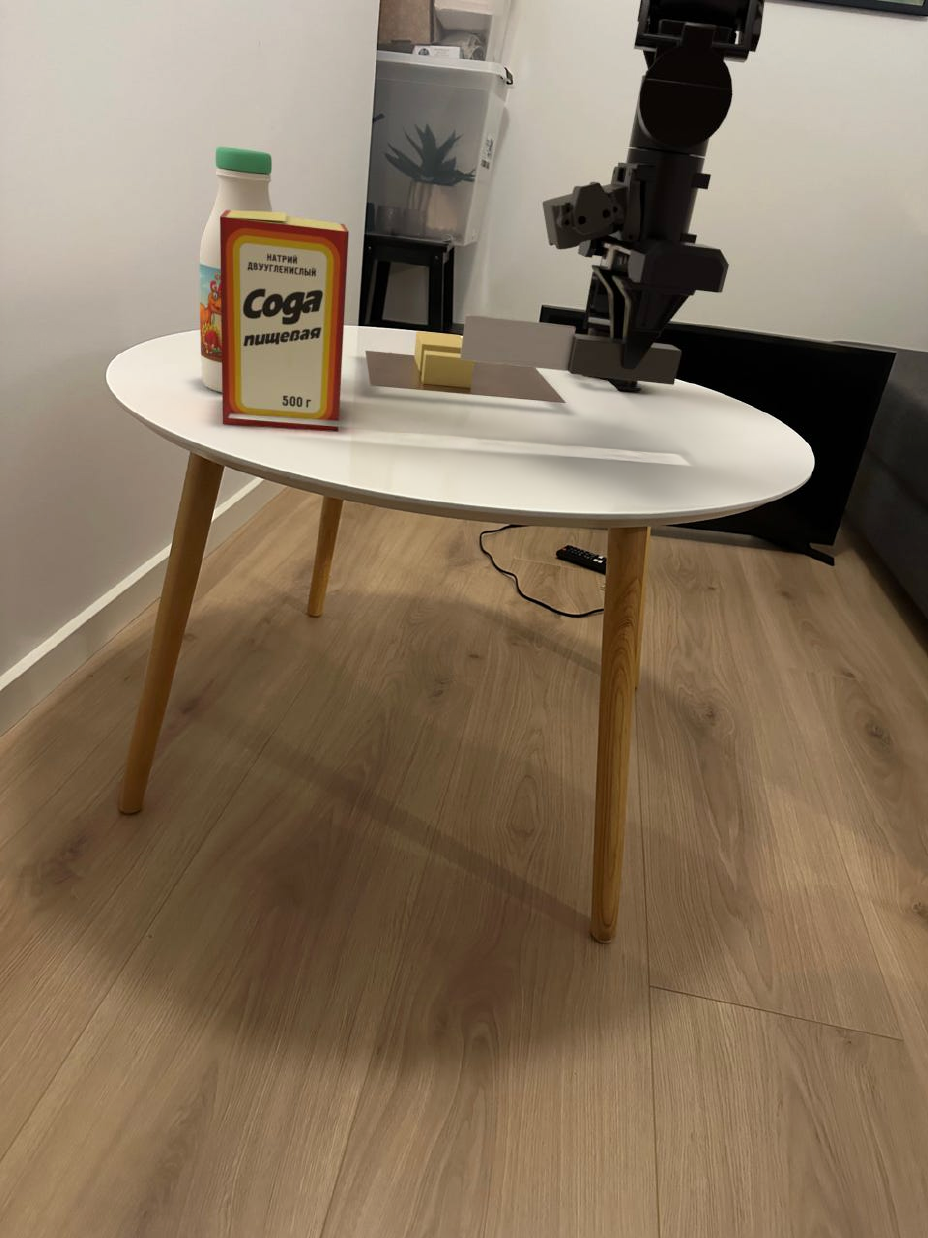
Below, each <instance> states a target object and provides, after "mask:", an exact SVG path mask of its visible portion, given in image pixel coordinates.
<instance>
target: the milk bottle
mask: <svg viewBox="0 0 928 1238" xmlns="http://www.w3.org/2000/svg"><path fill="white" fill-rule="evenodd" d="M272 161H273V159H272V155H271V154H270V153H268V152H264V151H259V150H252V149H244V148H238V147H237V148H236V147H229V146H218V147H216V149H215V166H216V172H215V175H216V176H217V177H218V189H217V193H216V199H215V202H214V205H213V208H212V211H211V213H210V215H209V218H208V220H207V222H206V225H205V228H204V229H203V234H202V237H201V241H200V247H199V248H200V250H199V275H198V277H199V278H198V279H199V280H198V281H199V327H200V328H199V329H200V330H199V332H200V334H199V335H200V336H199V337H200V364H201V365H200V371H201V380H202V382H203V384H204V386H206V387H207V388H209V389H210V390H213V391H216V392H219V393H222V331H221V254H220V216H221V215H222V214H223V213H224V212H225V210H236V211H262V212H274V211H273V208H272V207H273V206H272V204H271V203H272V202H271V198H270V192H269V191H270V190H269V184H270V183H271V182H272V178H271V175H272V167H273V165H272V164H273V163H272Z"/></svg>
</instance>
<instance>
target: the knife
mask: <svg viewBox="0 0 928 1238" xmlns="http://www.w3.org/2000/svg"><path fill="white" fill-rule="evenodd" d="M576 330H577V327H576V326H573V325H565V324H556V323H549V322H540V321H530V320H523V319H515V318H507V317H498V316H491V315H490V316H488V315H479V314H474V313H473V314H471V313H466V314H465V317H464V325H463V332H462V333H463V334H462V339H463V340H462V348H461V356H460V358H461V360H470V361H479V362H488V363H497V364H507V365H516V366H525V367H534V368H536V369H544V370H545V369H546V370H554V371H563V372H569V374H571V375H579V376H582V375H586V376H585V377H587V376H596V377H605V378H614V379H623V380H633V381H638V382H641V383H642V382H643V383H653V384H663V385H672V386H673V385H675V381H676V377H677V373H678V369H679V365H680V361H681V357H682V353H683V352H682V351H683V350H681V349H679V348H678V347H676V346H674V345H673V344H668V343H667V344H666V343H658V342H654V343H653V345H652V346H651V347H650V349H649V350H648V352H647V353H646V354H645V356H644V357H643V359H642V360H641V361H640V363H639V364H638V366H637V367H636V368H635V369H624V368H623V367H622V342H623V339H616V338H608V337H599V336H591V335H588V334H582V333H576Z"/></svg>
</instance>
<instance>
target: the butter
mask: <svg viewBox="0 0 928 1238" xmlns="http://www.w3.org/2000/svg"><path fill="white" fill-rule="evenodd" d="M462 340H463V337H462V336H461V335H459V334H452V333H443V332H442V333H441V332H433V331H432V332H431V331H422V330H416V332H415V343H414V344H415V345H414V354H413V355H414V358H415V361H416V364H417V366H418V369H419V372H422V368H423V358H424V351H425V350H426V351H436V352H446V353H456V354H461V348H462Z"/></svg>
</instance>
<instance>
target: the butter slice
mask: <svg viewBox="0 0 928 1238" xmlns="http://www.w3.org/2000/svg"><path fill="white" fill-rule="evenodd" d="M460 356H461V354H456V353H446V352H436V351H426V350H425V351H424V358H423V368H422V382H423V384H430V385H441V386H452V387H462V388H471V384H472V376H473V368H474V361H470V360H461V358H460Z"/></svg>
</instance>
